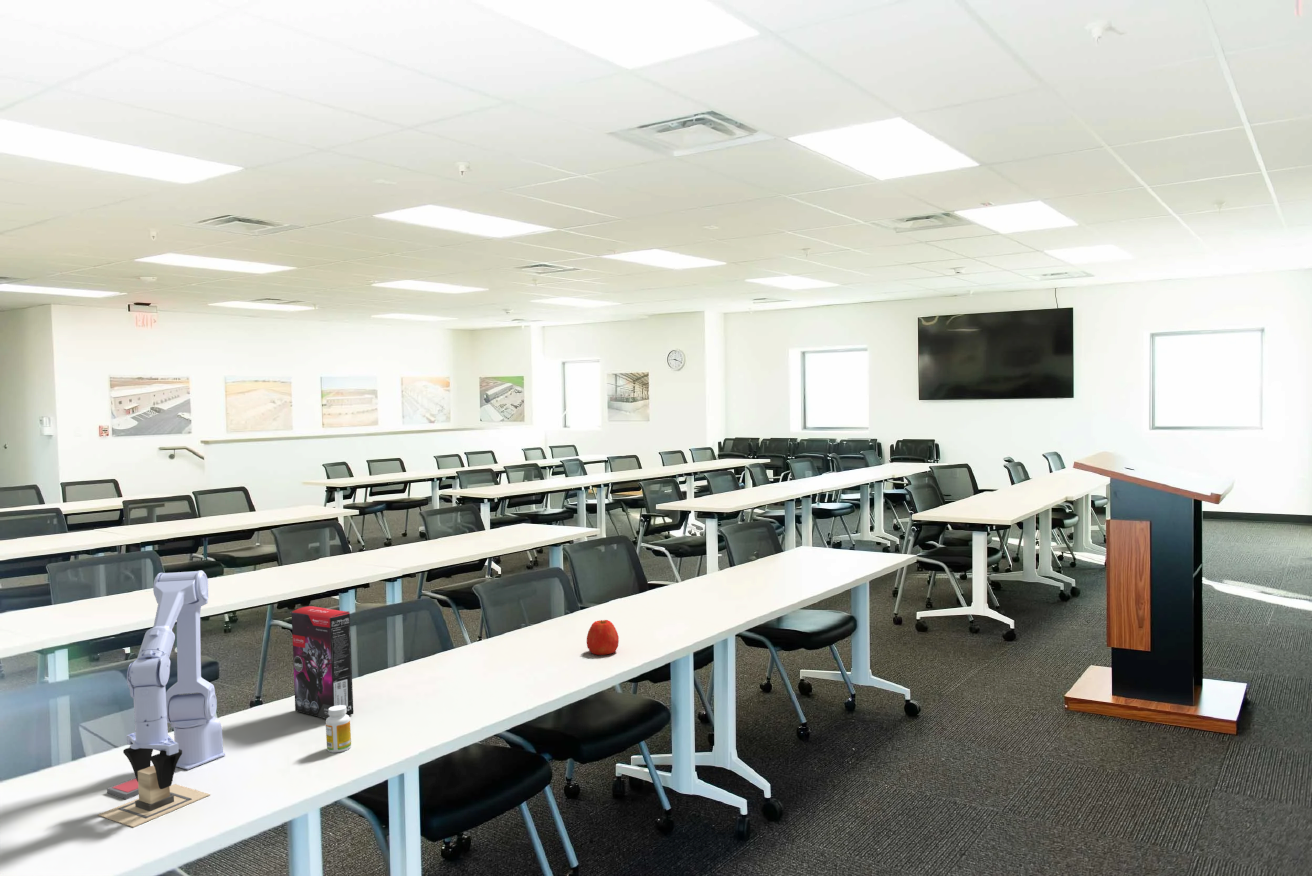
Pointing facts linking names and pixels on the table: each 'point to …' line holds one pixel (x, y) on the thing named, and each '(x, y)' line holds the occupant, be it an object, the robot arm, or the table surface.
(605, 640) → the apple
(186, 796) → the cardboard sheet
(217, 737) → the robot arm
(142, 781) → the stamp
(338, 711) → the supplement bottle
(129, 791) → the ink pad
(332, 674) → the graphics card box
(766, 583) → the table surface
